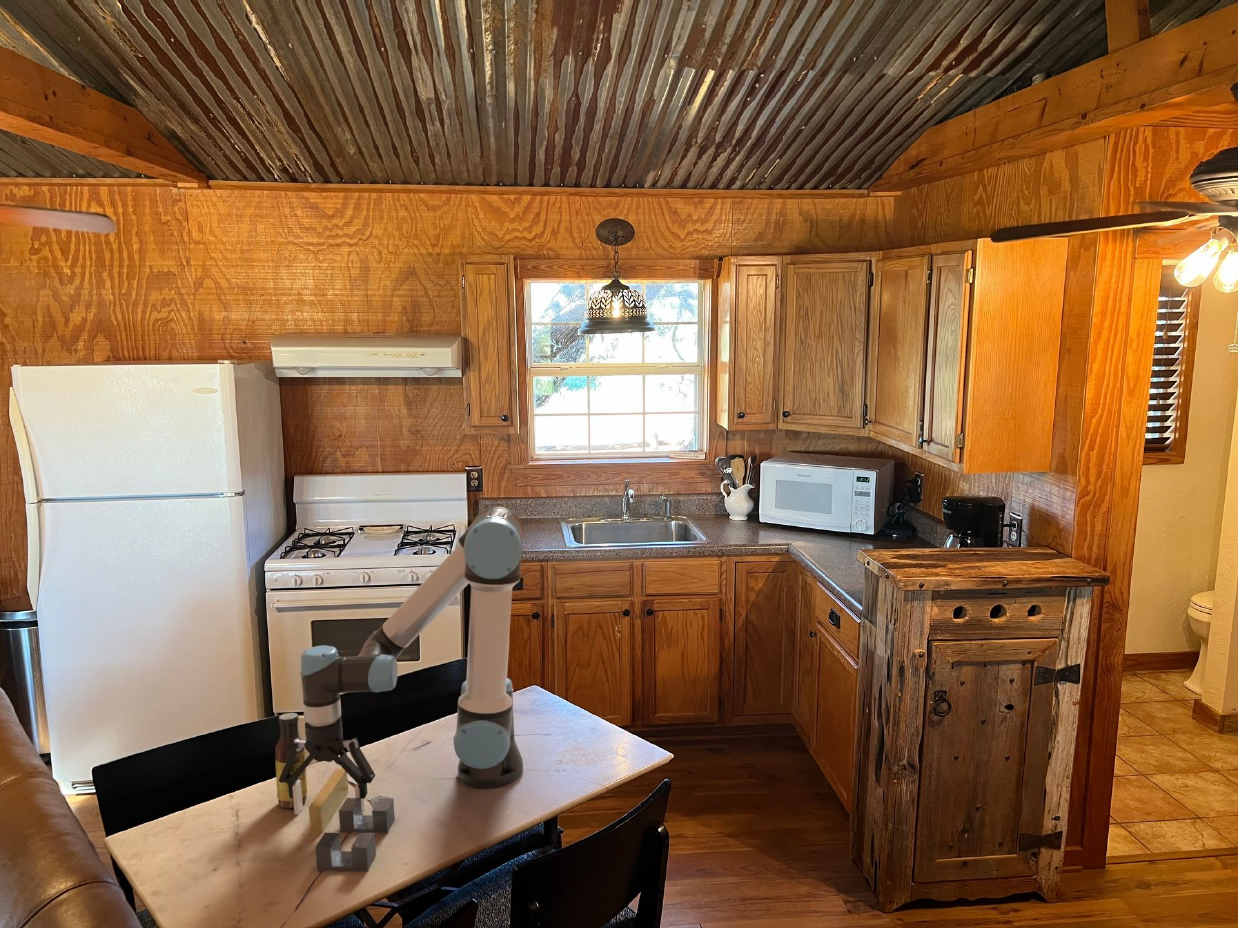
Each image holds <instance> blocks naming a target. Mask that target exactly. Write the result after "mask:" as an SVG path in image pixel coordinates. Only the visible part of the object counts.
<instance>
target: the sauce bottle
mask: <svg viewBox="0 0 1238 928" xmlns="http://www.w3.org/2000/svg"><path fill="white" fill-rule="evenodd" d="M278 724H279V732H280V733H279V737H280V738H278V739H279V740H278V741H277V744H276V745H275V749H274V751H275V759H274V760H275V775H276V779H275V780H276V797H277V800H278V806H279V807H280V808H283V809H292V808H293V809H294V800H293V798H290V797H289V787H288V784H287V783H285V782H283V783H280V782H279V778H280V775H281V773H282V771H283V769H284V767H285V764H286V762H287V760H288V758H289V755H290V753H291V744H292V743H293V742H294V740H295V739H296V738H298V737H299V738H300V739H301V737H300V734H299V733H300V732H299V714H298V713H295V712H287V713H283V714H281V715H280V716H278ZM301 740H302V739H301ZM306 758H307V757H306V749H305V747H303V748H302V750H301V751H299V754H298V756H297V758H296V760H295V762H294V765H293V767H292V769H291V771H290V774H289V775H293V774H294V773H295V772H296V770H297V769H298V768H299V767H300V766H301V764H302V763H303V762H304V761H305V759H306ZM307 779H308V778H307V767H306V768H305V770H304V771H303V772H302V773H301V775H300V776H299V777H298V778H297V779H296V781H297V780H301V790H302V803H303V804H305V802H306V801H307V797H308V783H307V782H308V781H307Z"/></svg>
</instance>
